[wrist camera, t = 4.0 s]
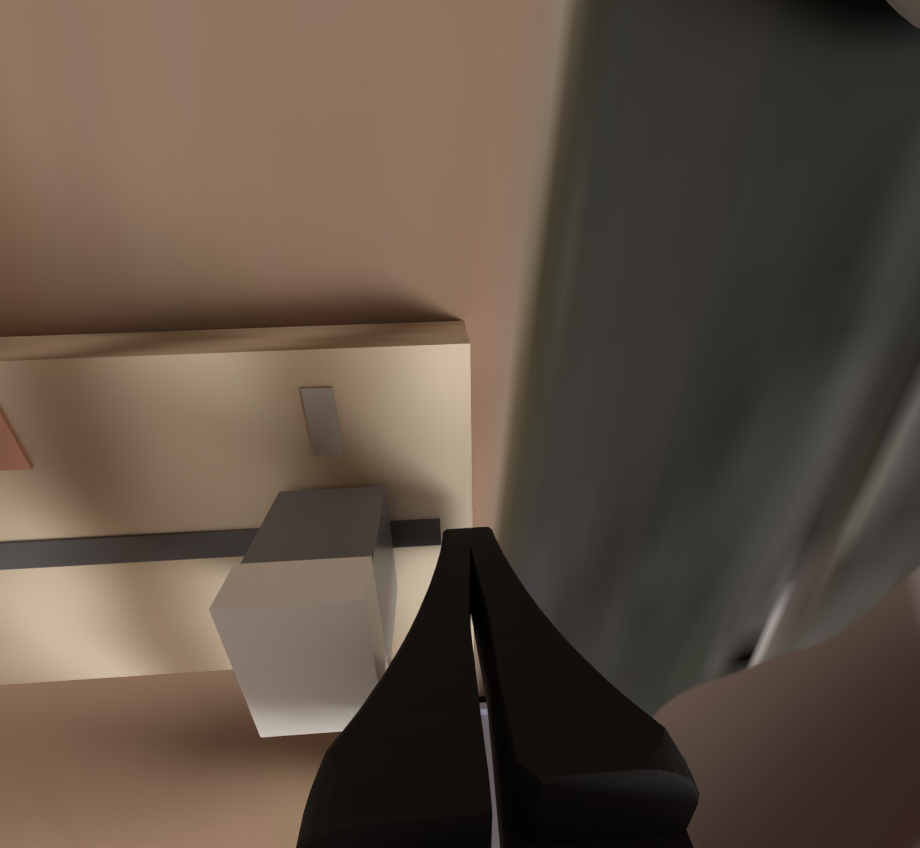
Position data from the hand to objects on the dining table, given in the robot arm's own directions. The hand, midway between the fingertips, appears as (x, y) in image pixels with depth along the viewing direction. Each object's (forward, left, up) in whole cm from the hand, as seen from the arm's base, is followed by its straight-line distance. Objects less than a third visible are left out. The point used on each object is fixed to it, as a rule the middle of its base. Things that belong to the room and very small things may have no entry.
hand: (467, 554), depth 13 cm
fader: (+4, 0, -1) cm, 4 cm away
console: (+10, 0, -4) cm, 10 cm away
